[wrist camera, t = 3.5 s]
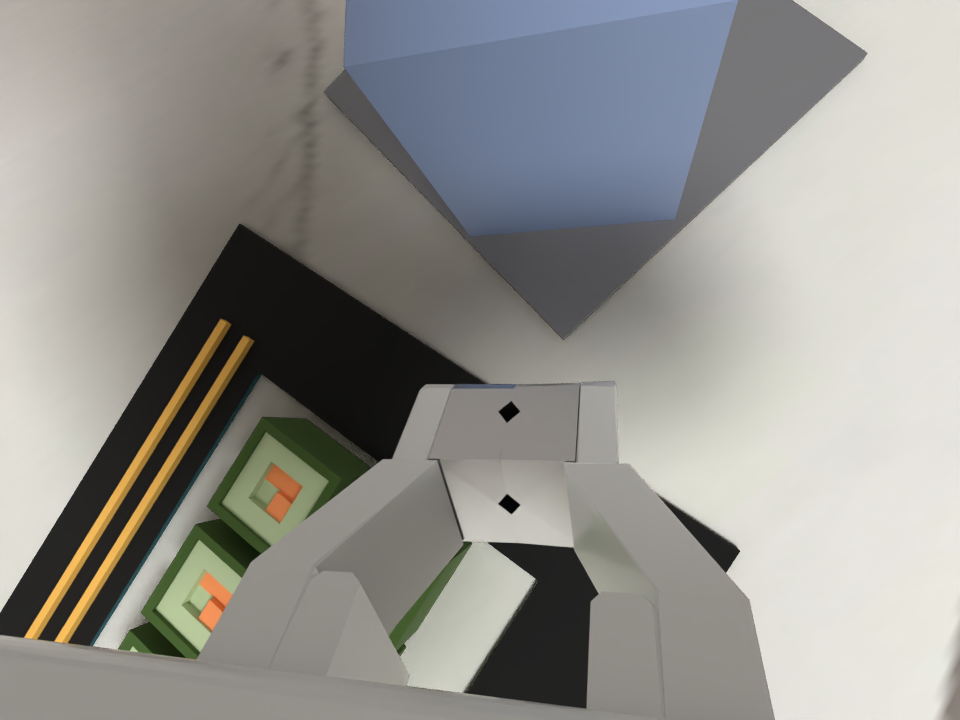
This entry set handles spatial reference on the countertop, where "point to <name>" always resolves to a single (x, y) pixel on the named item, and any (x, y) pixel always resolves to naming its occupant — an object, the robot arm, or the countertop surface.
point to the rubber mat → (715, 165)
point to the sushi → (276, 477)
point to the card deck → (543, 102)
